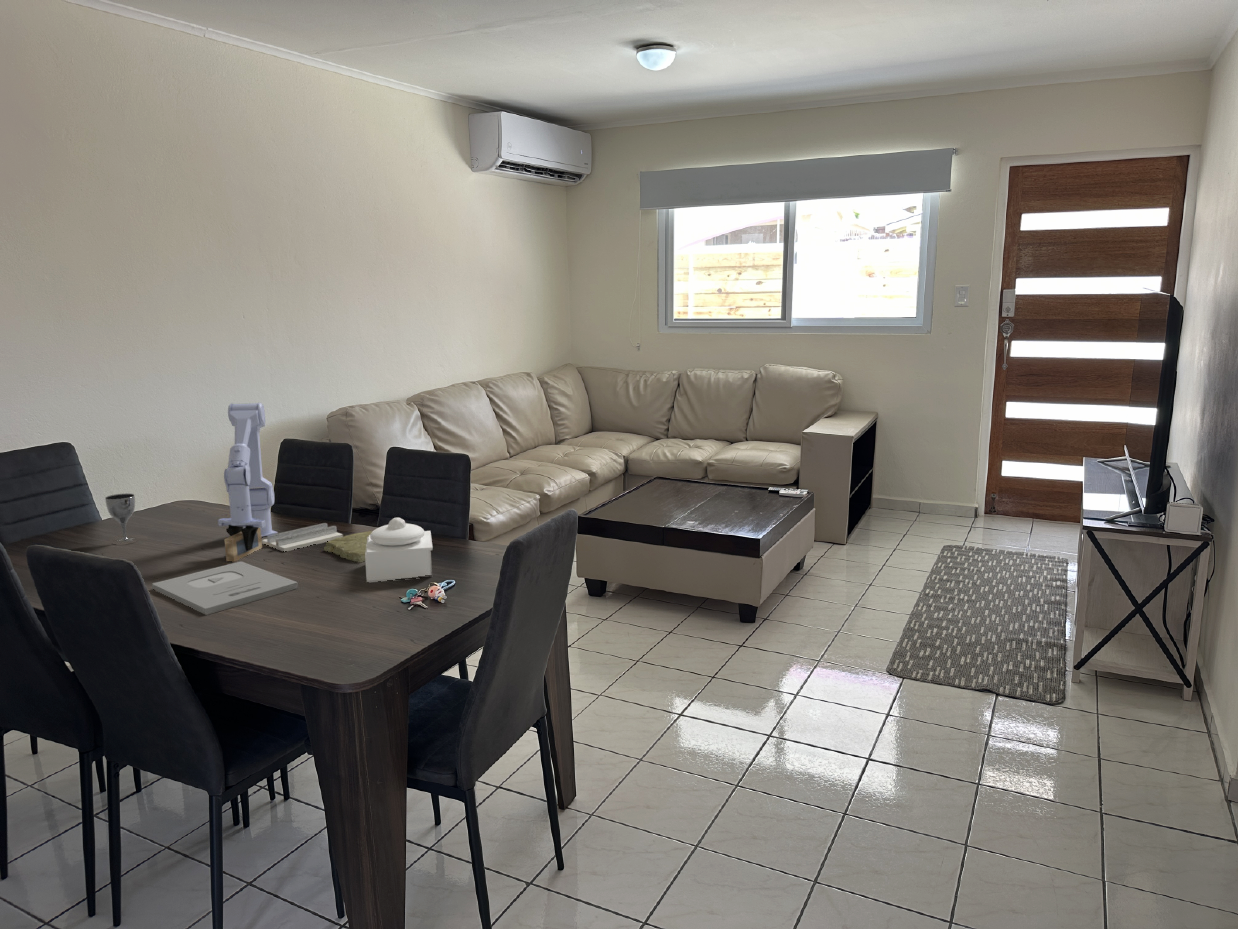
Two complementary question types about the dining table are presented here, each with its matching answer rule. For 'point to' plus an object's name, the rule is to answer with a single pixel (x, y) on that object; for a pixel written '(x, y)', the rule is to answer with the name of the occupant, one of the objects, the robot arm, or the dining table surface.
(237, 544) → the tan wooden frame
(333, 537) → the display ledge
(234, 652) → the dining table surface
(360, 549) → the mossy green slab
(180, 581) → the award plaque
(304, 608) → the dining table surface
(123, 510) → the wine glass
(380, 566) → the butter dish
